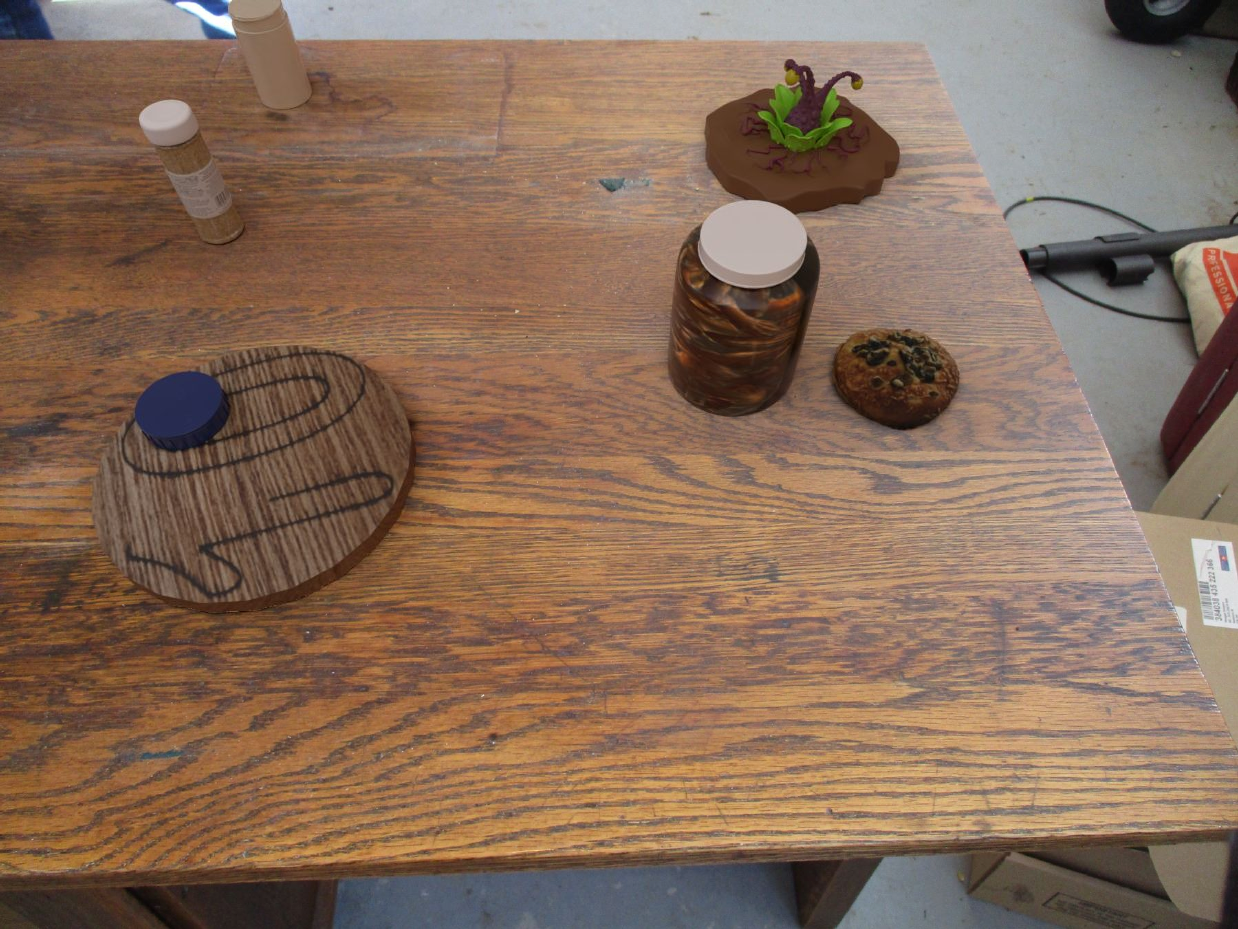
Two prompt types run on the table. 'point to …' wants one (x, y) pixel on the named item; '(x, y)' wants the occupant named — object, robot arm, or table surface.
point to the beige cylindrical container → (270, 52)
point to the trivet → (260, 484)
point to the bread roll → (895, 376)
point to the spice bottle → (192, 169)
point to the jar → (741, 307)
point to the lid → (182, 410)
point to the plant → (799, 145)
